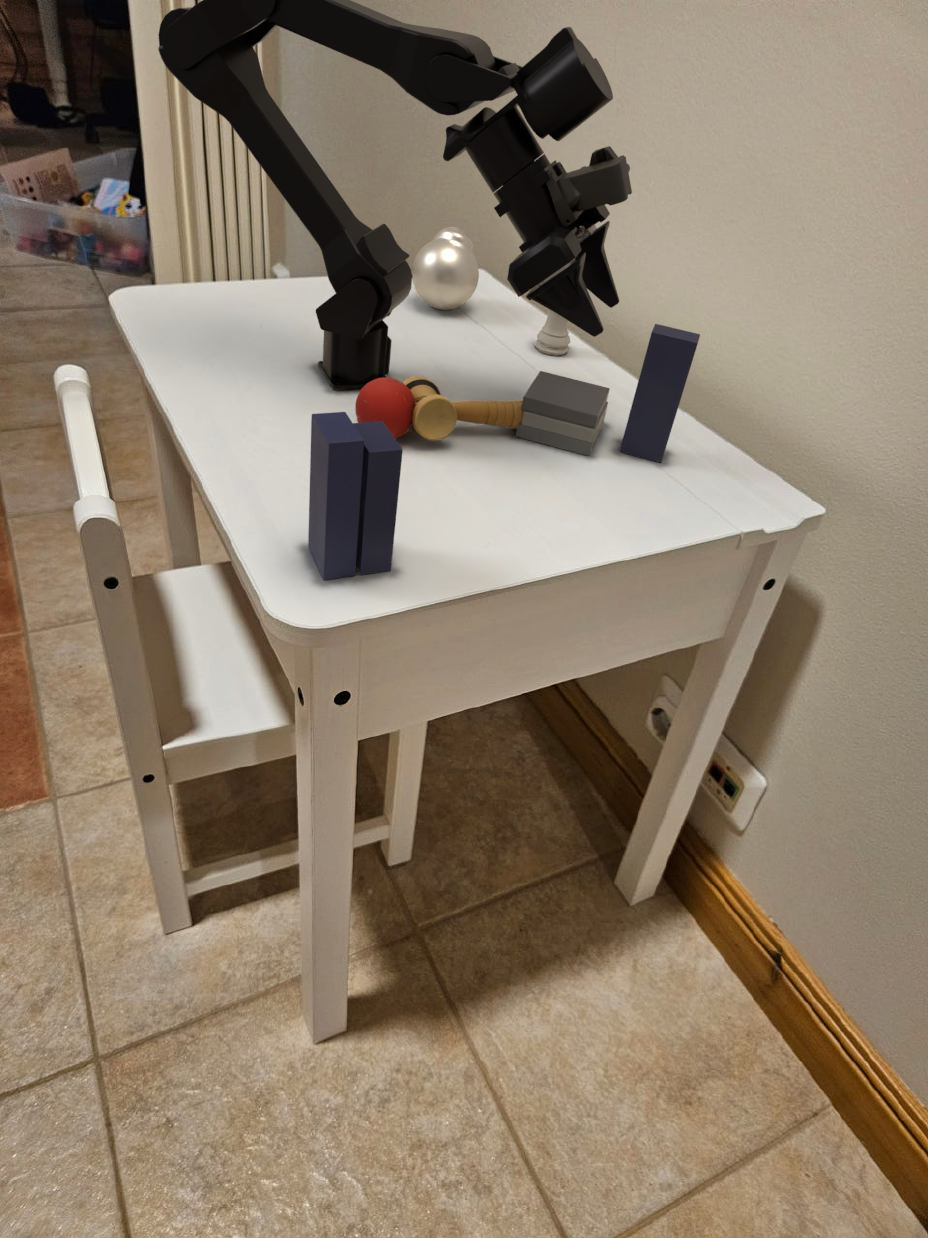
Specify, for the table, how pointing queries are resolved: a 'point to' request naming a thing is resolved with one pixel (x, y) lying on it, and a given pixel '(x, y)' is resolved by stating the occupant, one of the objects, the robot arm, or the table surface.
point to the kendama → (427, 408)
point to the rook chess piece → (553, 335)
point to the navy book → (659, 392)
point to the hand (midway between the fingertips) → (607, 318)
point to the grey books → (563, 412)
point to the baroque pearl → (446, 270)
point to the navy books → (352, 495)
